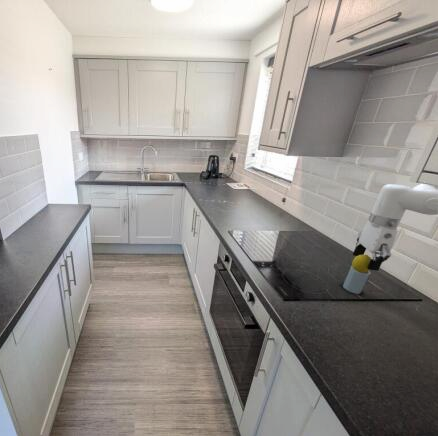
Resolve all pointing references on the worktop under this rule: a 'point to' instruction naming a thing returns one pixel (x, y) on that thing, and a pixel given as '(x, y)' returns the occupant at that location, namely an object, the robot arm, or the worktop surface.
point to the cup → (355, 281)
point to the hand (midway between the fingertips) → (364, 262)
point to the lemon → (361, 263)
